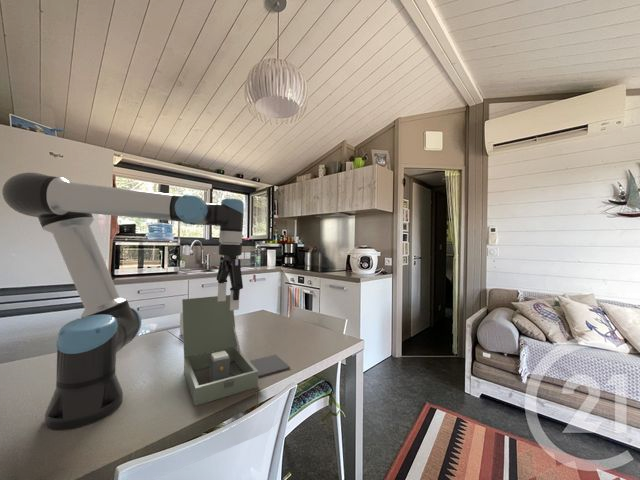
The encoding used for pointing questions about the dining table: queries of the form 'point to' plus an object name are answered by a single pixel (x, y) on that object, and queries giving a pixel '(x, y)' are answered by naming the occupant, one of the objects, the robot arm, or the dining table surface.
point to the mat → (269, 365)
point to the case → (213, 348)
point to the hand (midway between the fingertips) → (227, 305)
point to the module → (219, 366)
